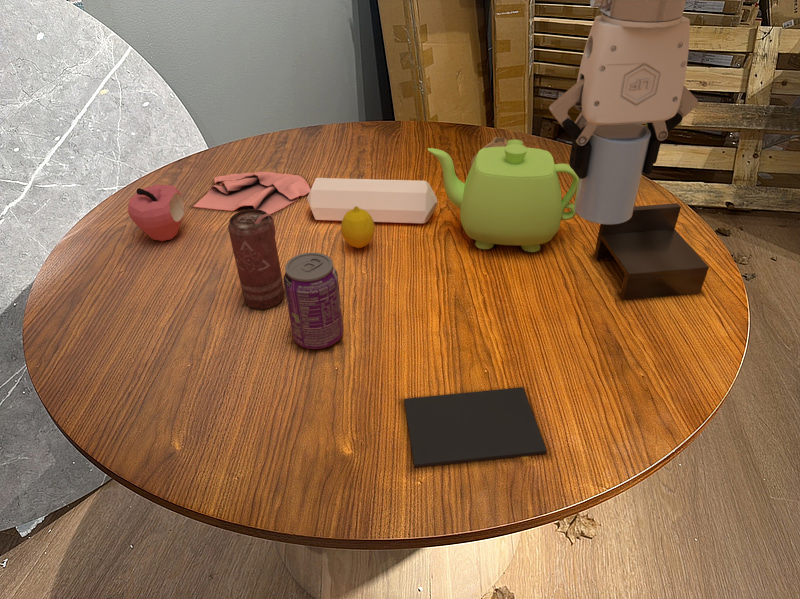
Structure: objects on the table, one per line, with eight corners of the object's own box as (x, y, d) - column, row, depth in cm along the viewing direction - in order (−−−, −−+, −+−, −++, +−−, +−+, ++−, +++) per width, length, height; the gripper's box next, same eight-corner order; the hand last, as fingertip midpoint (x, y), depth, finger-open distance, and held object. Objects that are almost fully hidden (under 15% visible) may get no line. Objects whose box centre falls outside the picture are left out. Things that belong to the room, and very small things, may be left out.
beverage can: (316, 314, 91) (307, 244, 83) (354, 331, 87) (347, 260, 80) (282, 340, 86) (269, 269, 79) (321, 360, 83) (311, 288, 75)
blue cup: (619, 195, 77) (636, 116, 71) (641, 222, 72) (661, 140, 65) (566, 198, 77) (578, 120, 70) (584, 226, 71) (599, 144, 65)
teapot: (566, 199, 116) (579, 117, 107) (575, 263, 99) (591, 172, 90) (435, 193, 120) (435, 113, 110) (421, 253, 103) (421, 165, 93)
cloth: (327, 192, 121) (325, 181, 119) (228, 233, 109) (225, 221, 108) (270, 160, 133) (268, 150, 132) (176, 194, 122) (173, 183, 120)
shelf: (664, 250, 102) (677, 202, 96) (700, 293, 92) (717, 243, 87) (593, 256, 101) (603, 208, 96) (622, 300, 91) (635, 250, 86)
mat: (522, 390, 77) (523, 386, 77) (546, 454, 69) (547, 450, 69) (404, 401, 76) (404, 398, 76) (414, 468, 68) (414, 464, 68)
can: (293, 300, 93) (280, 219, 85) (254, 315, 91) (236, 234, 82) (276, 281, 97) (262, 202, 89) (238, 295, 95) (220, 215, 86)
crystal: (439, 183, 114) (312, 179, 117) (437, 180, 107) (302, 177, 110) (437, 223, 115) (312, 219, 118) (436, 223, 108) (302, 219, 111)
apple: (173, 253, 105) (158, 200, 99) (128, 247, 106) (110, 196, 100) (200, 224, 112) (187, 174, 106) (157, 220, 114) (142, 170, 108)
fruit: (344, 258, 102) (340, 216, 97) (341, 241, 106) (337, 199, 102) (377, 255, 103) (375, 213, 98) (373, 238, 107) (371, 196, 102)
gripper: (568, 16, 57) (545, 191, 67) (750, 7, 58) (699, 181, 68) (545, -1, 63) (528, 162, 73) (710, -9, 64) (669, 153, 74)
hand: (610, 170), depth 71 cm, fingers closed on blue cup, 6 cm apart
